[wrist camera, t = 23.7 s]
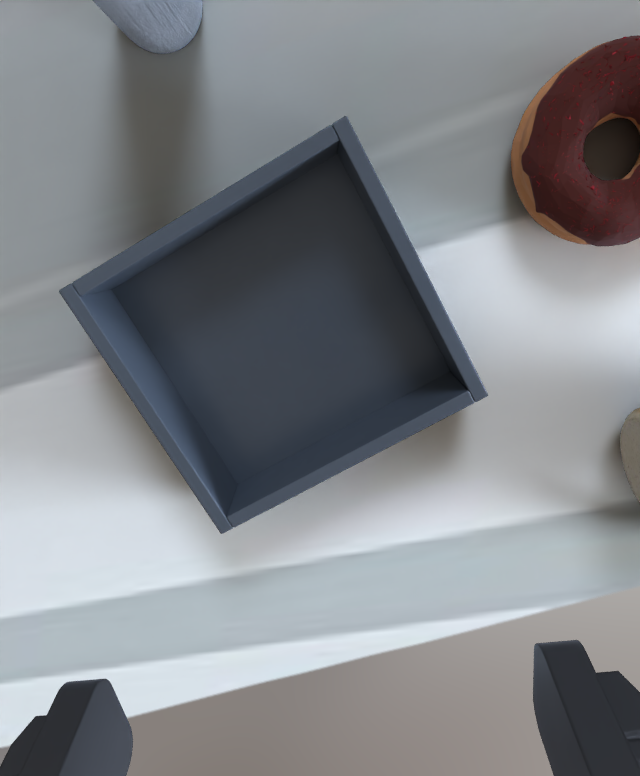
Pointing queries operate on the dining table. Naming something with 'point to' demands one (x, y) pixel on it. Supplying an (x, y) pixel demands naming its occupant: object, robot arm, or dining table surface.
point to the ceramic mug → (631, 450)
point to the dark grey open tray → (278, 330)
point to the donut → (580, 148)
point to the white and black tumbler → (155, 21)
